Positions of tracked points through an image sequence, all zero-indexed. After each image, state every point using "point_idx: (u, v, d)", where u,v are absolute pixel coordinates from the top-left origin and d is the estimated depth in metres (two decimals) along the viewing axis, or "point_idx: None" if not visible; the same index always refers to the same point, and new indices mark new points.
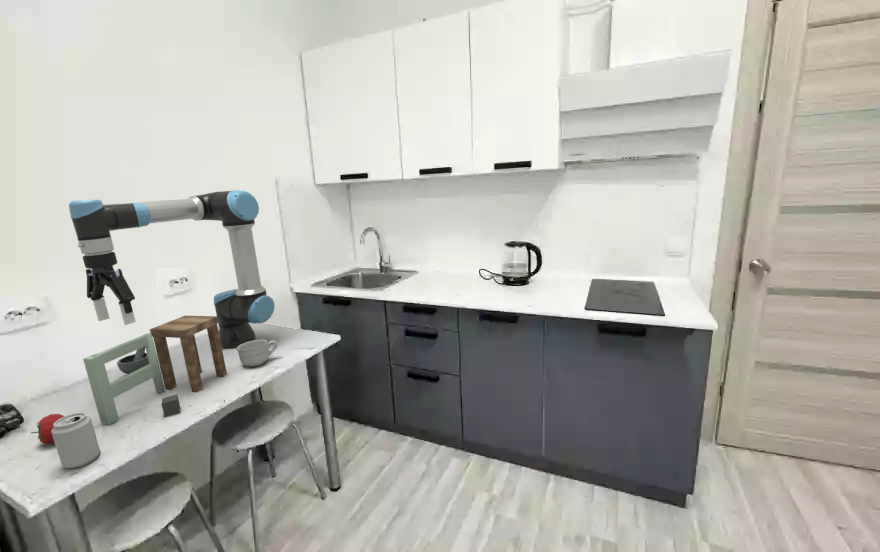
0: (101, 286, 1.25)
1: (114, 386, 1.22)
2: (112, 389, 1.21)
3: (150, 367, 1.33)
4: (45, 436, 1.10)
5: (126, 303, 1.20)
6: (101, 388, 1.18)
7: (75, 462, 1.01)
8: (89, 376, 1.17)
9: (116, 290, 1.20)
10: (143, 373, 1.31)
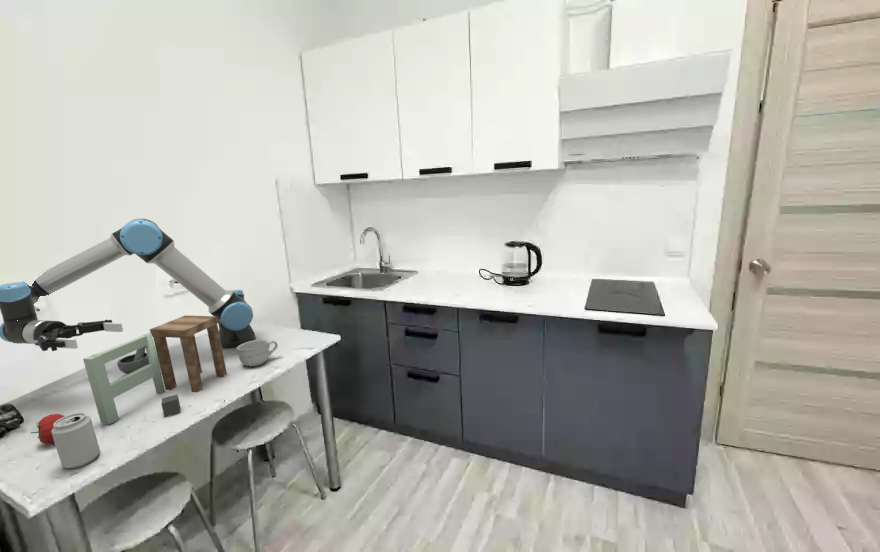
0: (85, 328, 1.30)
1: (114, 386, 1.22)
2: (112, 389, 1.21)
3: (150, 367, 1.33)
4: (45, 436, 1.10)
5: (52, 346, 1.18)
6: (101, 388, 1.18)
7: (75, 462, 1.01)
8: (89, 376, 1.17)
9: None
10: (143, 373, 1.31)
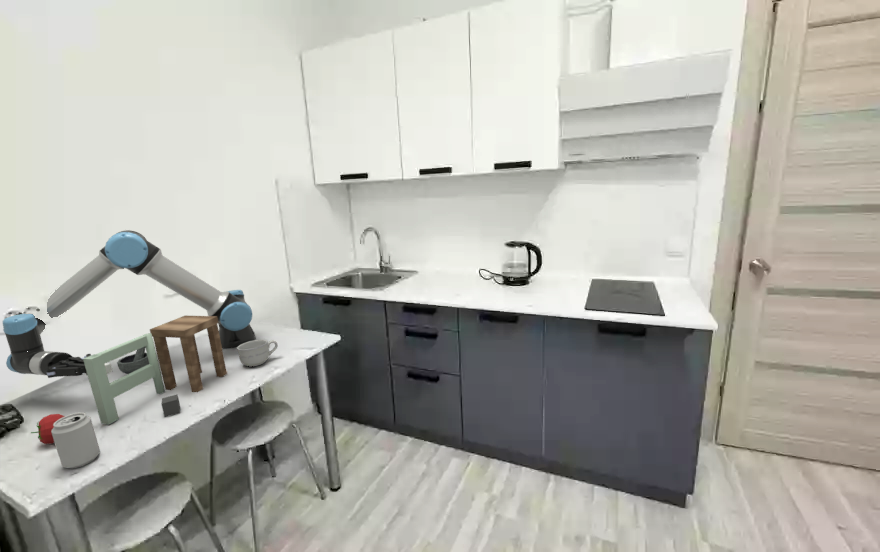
0: (80, 364, 1.29)
1: (114, 386, 1.22)
2: (112, 389, 1.21)
3: (150, 367, 1.33)
4: (45, 436, 1.10)
5: (86, 371, 1.26)
6: (101, 388, 1.18)
7: (75, 462, 1.01)
8: (89, 376, 1.17)
9: (76, 371, 1.27)
10: (143, 373, 1.31)
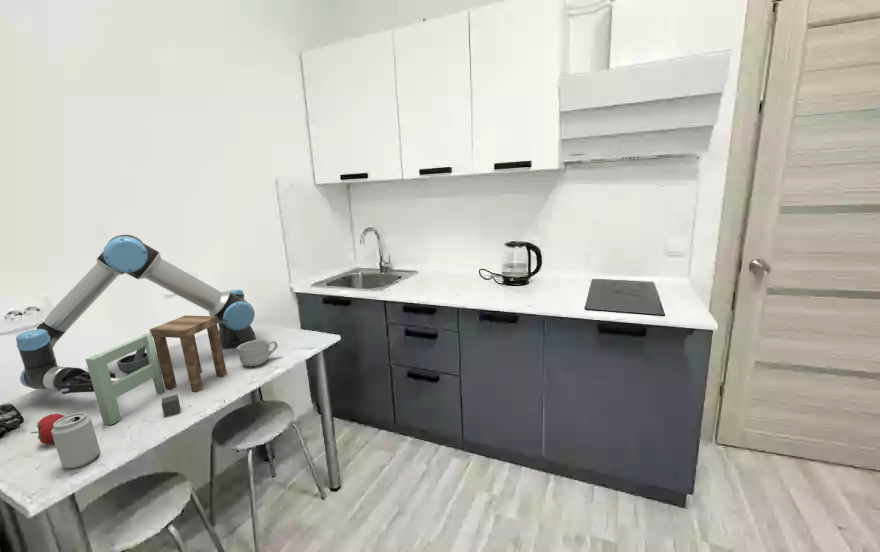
0: None
1: (116, 386, 1.22)
2: (114, 389, 1.21)
3: (150, 367, 1.33)
4: (45, 436, 1.10)
5: None
6: (104, 388, 1.18)
7: (75, 462, 1.01)
8: (92, 376, 1.17)
9: (90, 387, 1.27)
10: (144, 373, 1.31)
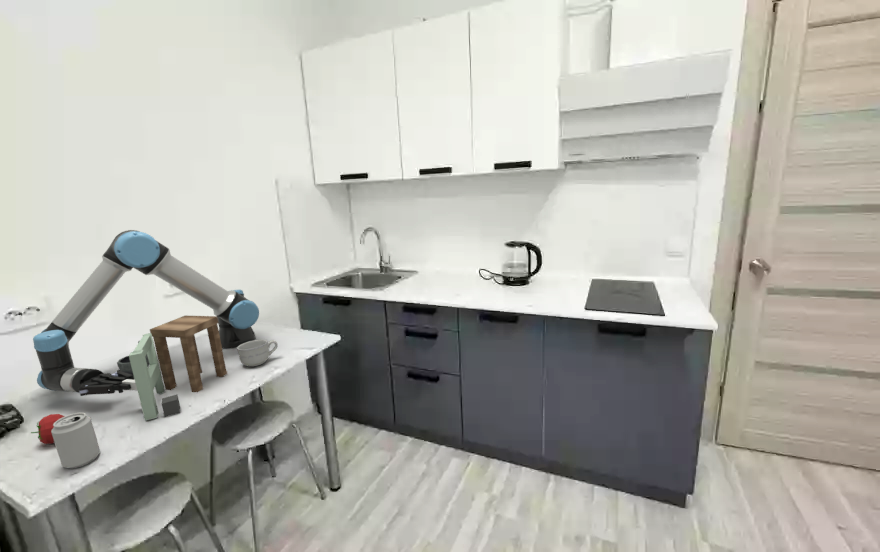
0: (112, 381, 1.28)
1: None
2: None
3: (156, 366, 1.34)
4: (45, 436, 1.10)
5: (119, 388, 1.24)
6: (149, 382, 1.20)
7: (75, 462, 1.01)
8: (135, 372, 1.17)
9: (108, 388, 1.25)
10: (155, 371, 1.31)
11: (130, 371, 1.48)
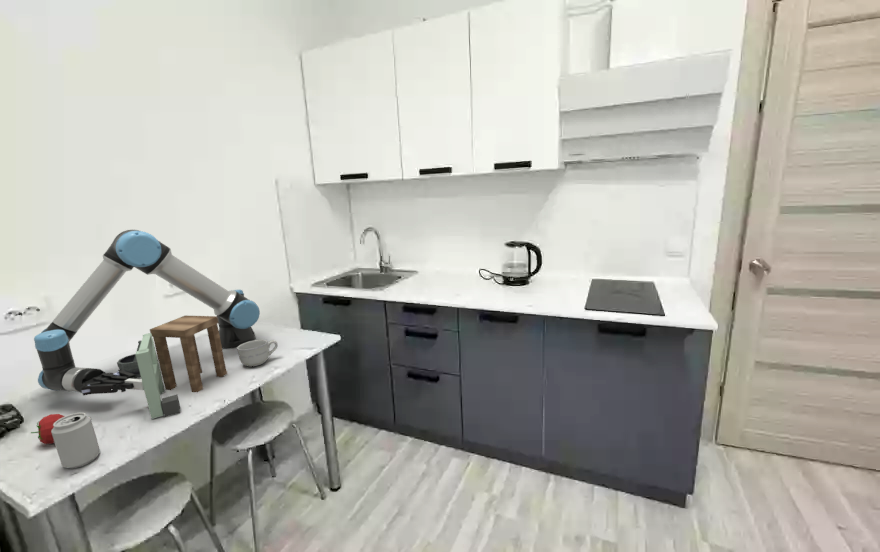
0: (114, 380, 1.28)
1: None
2: None
3: (157, 365, 1.34)
4: (45, 436, 1.10)
5: (122, 388, 1.24)
6: (155, 380, 1.21)
7: (75, 462, 1.01)
8: (142, 371, 1.18)
9: (111, 388, 1.25)
10: (157, 370, 1.32)
11: (130, 371, 1.48)
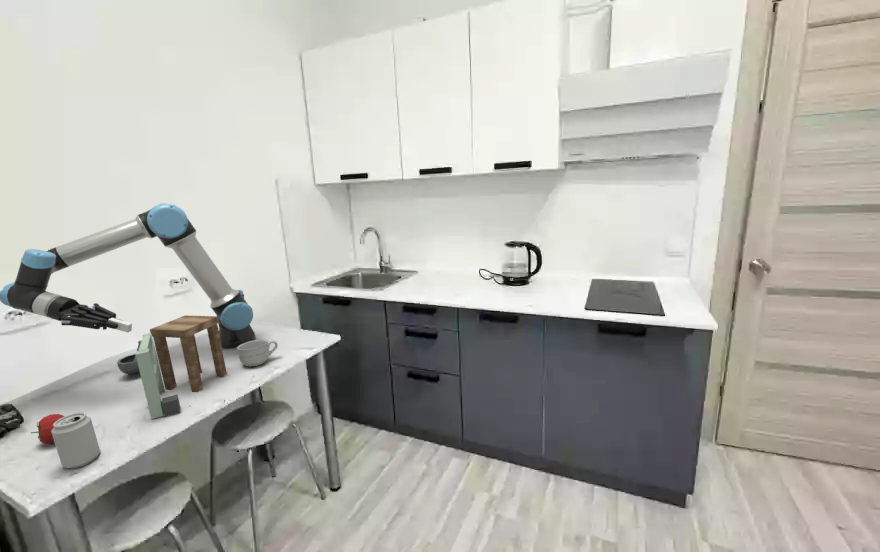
0: (93, 315, 1.32)
1: None
2: None
3: (157, 365, 1.34)
4: (45, 436, 1.10)
5: (105, 326, 1.30)
6: (155, 380, 1.21)
7: (75, 462, 1.01)
8: (142, 371, 1.18)
9: None
10: (157, 370, 1.32)
11: (130, 371, 1.48)
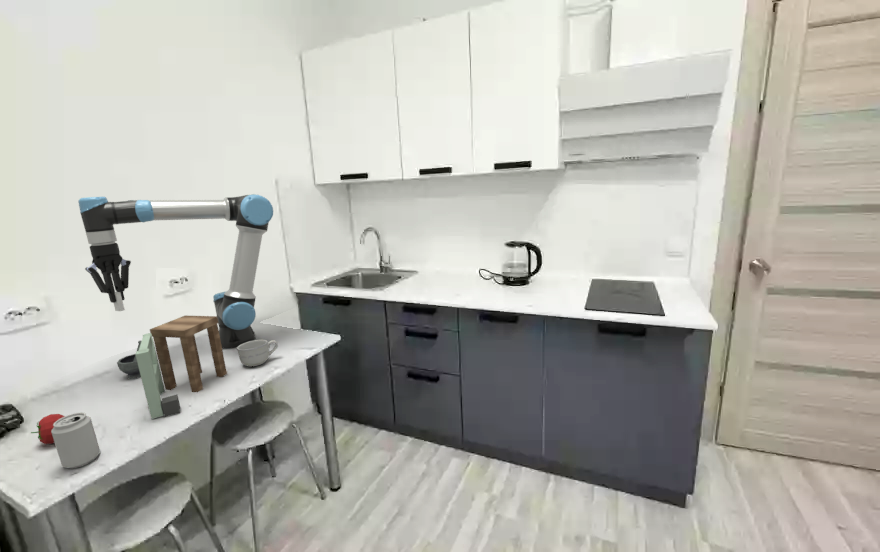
0: (114, 275, 1.41)
1: None
2: None
3: (157, 365, 1.34)
4: (45, 436, 1.10)
5: (108, 294, 1.40)
6: (155, 380, 1.21)
7: (75, 462, 1.01)
8: (142, 371, 1.18)
9: (105, 281, 1.39)
10: (157, 370, 1.32)
11: (130, 371, 1.48)
